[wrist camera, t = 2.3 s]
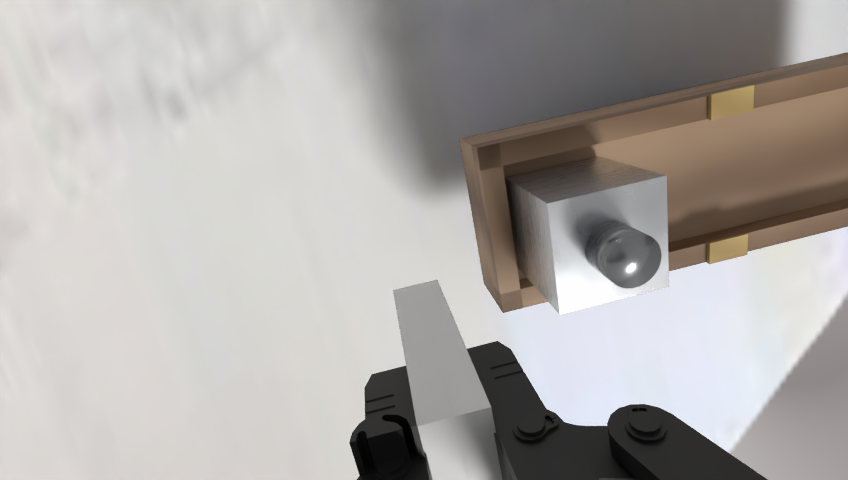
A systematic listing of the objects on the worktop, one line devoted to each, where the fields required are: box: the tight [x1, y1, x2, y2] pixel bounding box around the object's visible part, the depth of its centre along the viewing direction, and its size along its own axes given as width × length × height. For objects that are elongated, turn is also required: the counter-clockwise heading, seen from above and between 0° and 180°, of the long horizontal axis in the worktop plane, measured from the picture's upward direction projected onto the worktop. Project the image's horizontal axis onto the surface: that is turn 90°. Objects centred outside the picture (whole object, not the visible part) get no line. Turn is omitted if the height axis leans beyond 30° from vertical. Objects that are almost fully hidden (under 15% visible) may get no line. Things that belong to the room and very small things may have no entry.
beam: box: [459, 53, 848, 313], centre depth 25 cm, size 8×23×8 cm, turn 101°
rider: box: [505, 156, 669, 314], centre depth 19 cm, size 4×4×6 cm
